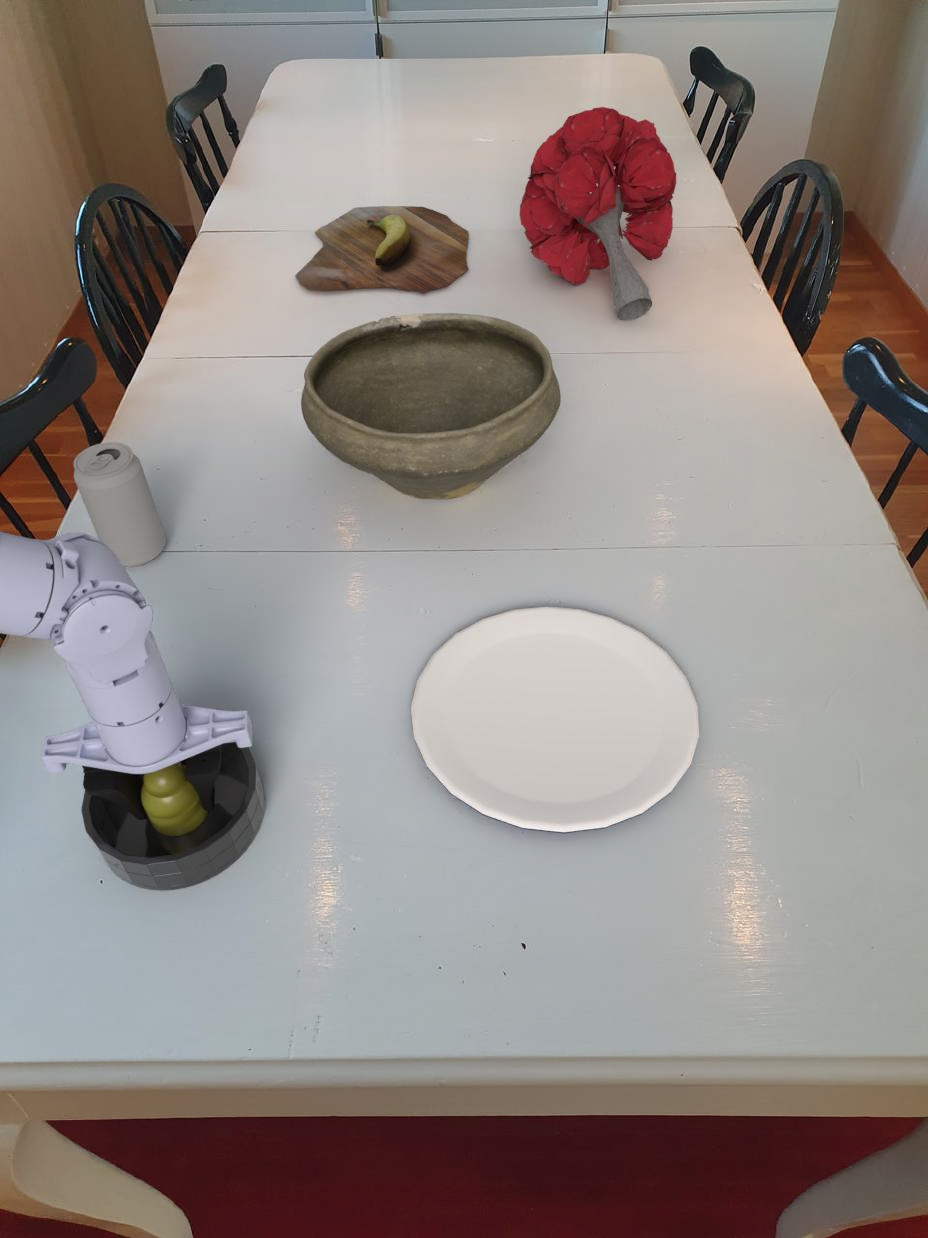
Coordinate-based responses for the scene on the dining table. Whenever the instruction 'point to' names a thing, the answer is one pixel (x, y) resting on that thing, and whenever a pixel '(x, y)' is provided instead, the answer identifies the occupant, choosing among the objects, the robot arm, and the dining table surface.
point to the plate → (555, 719)
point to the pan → (188, 856)
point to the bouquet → (600, 201)
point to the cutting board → (387, 250)
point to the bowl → (431, 399)
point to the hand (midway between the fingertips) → (177, 804)
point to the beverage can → (119, 502)
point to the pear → (171, 801)
